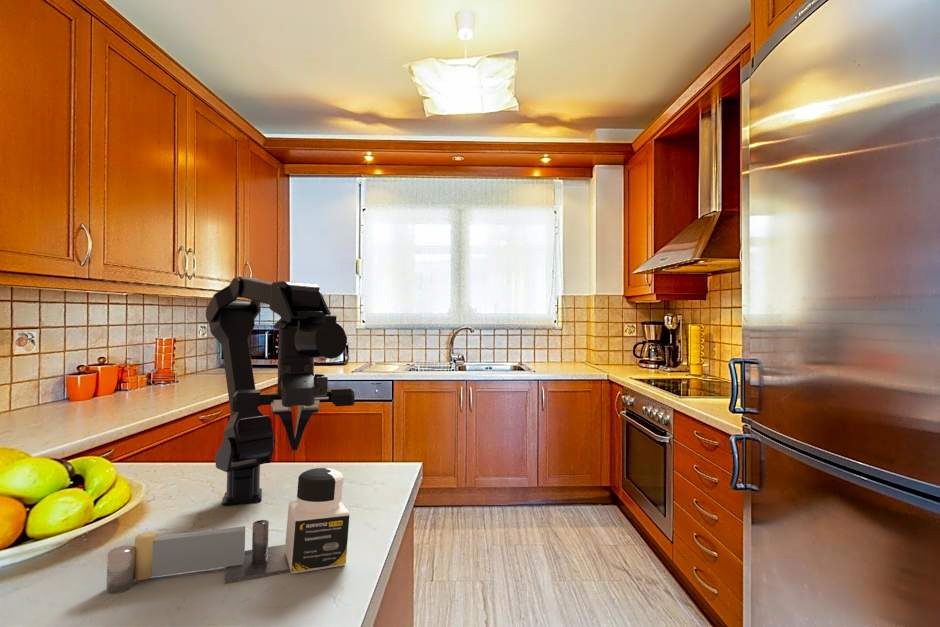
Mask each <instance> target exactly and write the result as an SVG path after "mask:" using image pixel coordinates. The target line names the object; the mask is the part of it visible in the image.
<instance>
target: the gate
mask: <svg viewBox="0 0 940 627" xmlns="http://www.w3.org/2000/svg"><path fill="white" fill-rule="evenodd" d="M158 533H159V532H157V531H147V532H143V533H142V532H141V533H140V534H137V535H136V536H135V537H134V546H135V576H134V581H143V580H147V579H150V578H154V577H163V576H168V575H177V574H184V573H192V572H198V571H207V570H213V569H220V568H227V567H229V566H236V565H243V563H244V558H245V551H246V548H245V547H246V526H236V527H227V528H218V529H210V530H207V529H206V530H199V531H191V532H182V533H172V534H164V535H158Z"/></svg>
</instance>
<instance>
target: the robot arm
mask: <svg viewBox="0 0 940 627" xmlns="http://www.w3.org/2000/svg"><path fill="white" fill-rule="evenodd" d="M238 298H241V299H248V300H250V301H248V300H238ZM260 303H263V304H267V305H268V306H269V310H271V311H272V312H273V313H274V314H276V315H278V316H279V317H280V319H278V321H276V322H275V324H274V325H273V329H274V330H278V344H277V345H278V347H277V348H278V350H277V351H278V353H277V357H278V358H277V386H276V387H277V388H276V390H277V391H276V392H277V393H261V389H256V384H255V383H256V382H255V378H254V377H255V375H254V371H253V369H254V368H253V363H252V356H251V352H250V351H251V350H250V349H251V348H250V343H249V338H250V336H251V334H252V332H253V330H254V328H255V319H257V317H258V315H259V314H260V312H261V305H260ZM205 319H206V321H207V322H208V326H209V332H210V333H211V335H212V336H213V337H214V338H215V339H216V341H218V342H219V343H220V345H221V351H222V358H223V365H224V374H225V378H226V386H227V387H226V388H227V395H228V403H229V410H230V411H229V412H230V418H229V420H228V422H227V424H226V426H225V428H224V430H223V441H222V443H221V445H220V446H219V448H218V450H217V452H216V454H215V455H214V463H215V468H216V469H218V470H221V471H223V472H224V473H226V491H225V492H224V495H223V500H222V506H229V505H238V504H246V503H255V502H256V503H257V502H261V501H262V500H263V499H262V498H263V495H262V494H263V491H262V490H263V489H262V487H261V486H260V484H261V481H260V480H261V466H262V465H265V464H271V463H272V458H273V455H274V450H275V447H276V446H275V445H276V438H275V437H276V436H275V433H274V431H273V423H272V418H271V416H270V415H264V414H263V413H262V411H260V409H259V407H261V406H271V409H270V410H271V415H273V416H279V418H280V420H281V422H282V424H283V428H284V429H285V431H286V435H287V439H288V442H289V446H290V449H291V451H292V452H293V451H298V449H299V446H300V444H301V440H302V437H303V434H304V432H305V429H306V426H307V424H308V423H309V421H310V419H311V417H312V416H313V414H315V413H319V412H320V408H319V405H320V403H331V404H333V405H334V406H335V407H349V406H350V407H352V406H355V398H356V397H355V391H354V390H353V389H352V388H351V387H349V386H347V385H346V386H344V385H343V386H342V385H340V386H329V383H328V381H329V380H328V377H329V376H328V373H315V358H316V359H331V360H332V359H335V358H336V359H337V358H338V357H340V356H341V355H342V354H343V353H344V352H345V350H346V347H347V344H348V336H347V334H346V331H345V330H344V327H342V326H341V325H340V324H338V322H337V315H332V312H331V311H330V309H329V307H328V304H327V303H326V300H325V298H324V296H323V294H322V292H321V291H320V287H319V285H318V284H315V283H309V282H298V281H286V280H281V281H274V282H271V281H266V280H263V279H262V280H261V279H259V278H256V277H248V276H237V277H233V278H232V280H231V282H230V283H229V284H228V285H227V286H225V287H224V288H222V289H220V290H219V291H217V292H216V293H214V294H213V295H212V297H211V300H210V301H209V302H208V304H207V306H206V310H205ZM294 406H298V407H297V408H298V409H297V417H296V423H295V431H294V424H293V423H294V422H293V413H292V412H293V411H292V409H291V408H292V407H294ZM260 487H261V488H260Z"/></svg>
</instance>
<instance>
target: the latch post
mask: <svg viewBox="0 0 940 627" xmlns="http://www.w3.org/2000/svg"><path fill="white" fill-rule="evenodd" d="M106 562H107V564H106V588H105V589H106V591H105V592H106V593H107V594H119V593H123V592H125V591H129V590H130V589H132V588H133V587H134V586H135V579H134V576H135V545H132V544H130V545H121V546H117V547H114V548H112V549H110V550H109V551H107V561H106Z"/></svg>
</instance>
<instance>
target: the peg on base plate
mask: <svg viewBox="0 0 940 627" xmlns="http://www.w3.org/2000/svg"><path fill="white" fill-rule="evenodd" d="M269 525H270V524H269V520H268V519H260V520H259V519H258V520H256V521H254V522H252V535H251V536H252V538H251V540H252V541H251V543H252V545H251V549H248V550H245V558H244V563H243V565H236V566H229V567H226V572H225V579H224V584H230V583H235V582H242V581H247V580H254V579H258V578H263V577H270V576H274V574H275V575H280V573H281V574H286V573H289V572H288V571H291V570H290V567H289V563H288V560H287V557H286V553H285V544H279V545H273V546H272V545H271V546H269ZM285 572H286V573H285ZM269 575H270V576H269Z"/></svg>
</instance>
